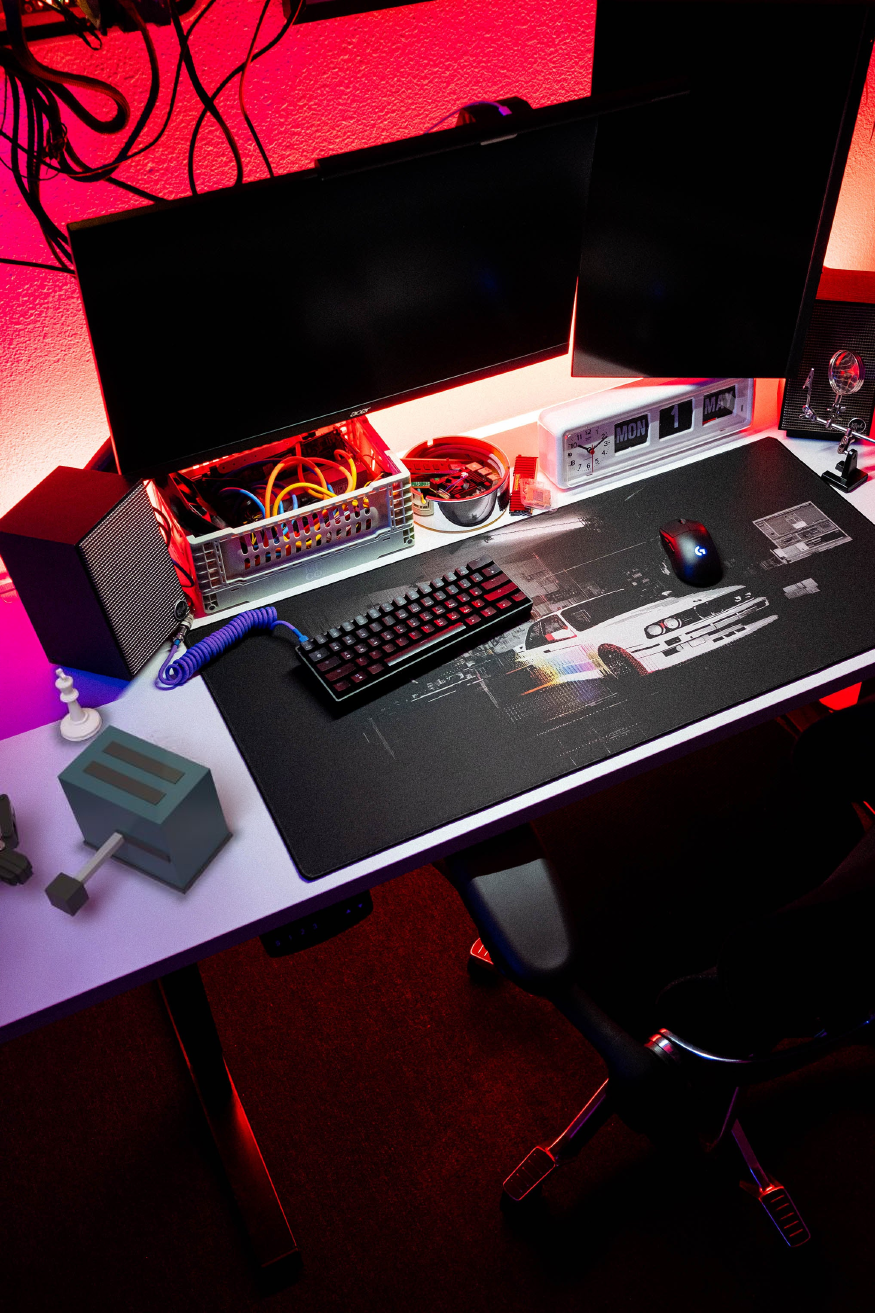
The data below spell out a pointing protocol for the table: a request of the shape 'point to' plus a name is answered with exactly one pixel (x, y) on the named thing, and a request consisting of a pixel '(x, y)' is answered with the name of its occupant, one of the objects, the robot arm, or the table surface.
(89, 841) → the toaster
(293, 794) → the table surface
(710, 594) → the table surface
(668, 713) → the table surface
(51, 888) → the slider
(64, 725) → the chess piece
